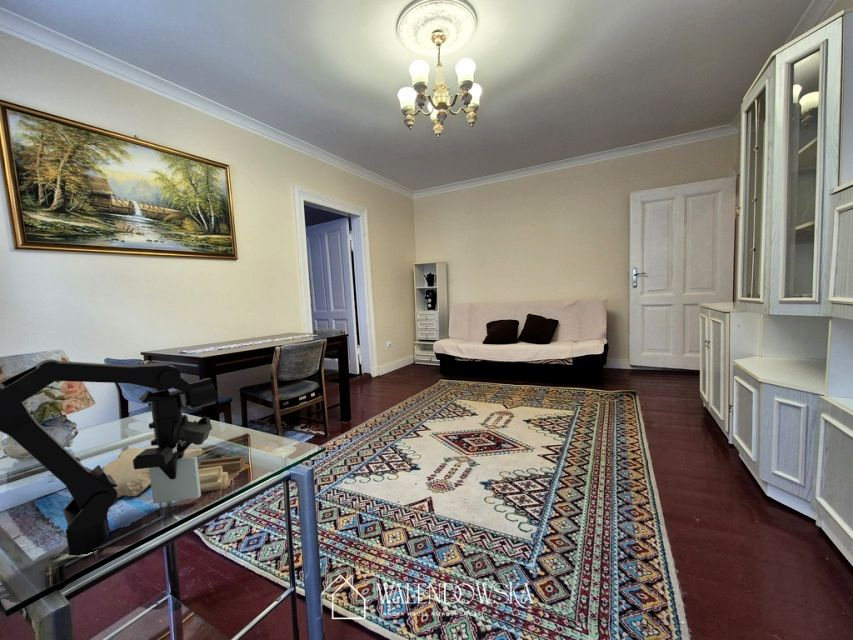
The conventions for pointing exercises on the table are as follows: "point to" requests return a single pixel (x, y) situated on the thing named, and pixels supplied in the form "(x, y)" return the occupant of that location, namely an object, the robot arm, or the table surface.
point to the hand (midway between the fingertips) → (174, 477)
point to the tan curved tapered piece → (134, 471)
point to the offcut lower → (215, 483)
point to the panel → (176, 482)
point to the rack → (225, 467)
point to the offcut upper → (210, 474)
